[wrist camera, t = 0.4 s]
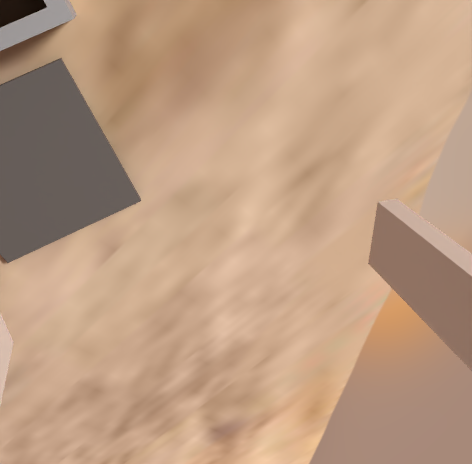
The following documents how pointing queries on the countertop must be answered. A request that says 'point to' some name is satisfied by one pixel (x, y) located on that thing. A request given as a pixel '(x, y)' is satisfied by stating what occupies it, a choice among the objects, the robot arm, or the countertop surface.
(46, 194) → the pad
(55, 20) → the pocket frame
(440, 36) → the countertop surface
